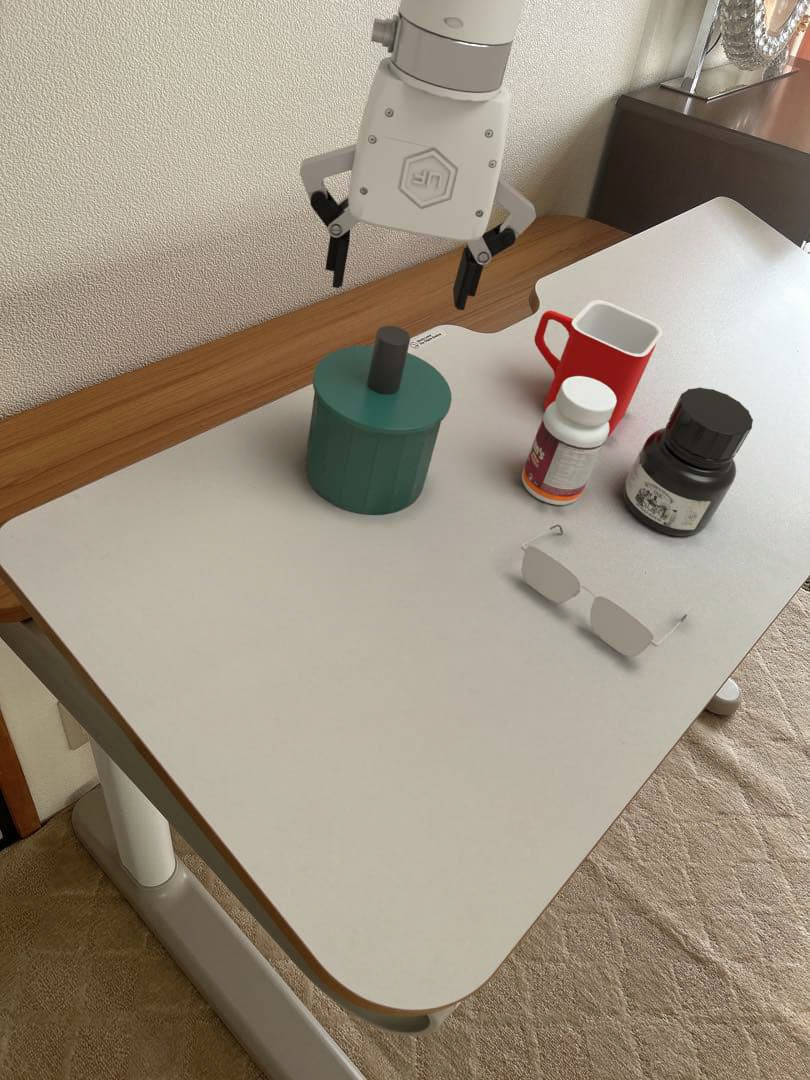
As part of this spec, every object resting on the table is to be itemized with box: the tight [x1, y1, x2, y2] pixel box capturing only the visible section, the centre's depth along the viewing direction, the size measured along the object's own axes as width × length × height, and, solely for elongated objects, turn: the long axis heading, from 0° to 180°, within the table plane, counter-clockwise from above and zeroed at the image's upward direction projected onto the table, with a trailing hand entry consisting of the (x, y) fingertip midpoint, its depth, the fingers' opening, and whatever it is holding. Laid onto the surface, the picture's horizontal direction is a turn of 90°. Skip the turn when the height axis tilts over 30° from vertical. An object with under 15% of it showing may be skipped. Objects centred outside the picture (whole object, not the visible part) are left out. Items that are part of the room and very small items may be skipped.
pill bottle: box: [521, 376, 617, 506], centre depth 83 cm, size 6×6×11 cm
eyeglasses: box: [520, 524, 688, 658], centre depth 76 cm, size 14×8×4 cm, turn 48°
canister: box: [304, 392, 442, 516], centre depth 80 cm, size 11×11×10 cm
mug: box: [534, 299, 664, 438], centre depth 94 cm, size 12×8×11 cm
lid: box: [312, 325, 452, 435], centre depth 75 cm, size 12×12×6 cm
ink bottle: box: [622, 387, 754, 537], centre depth 83 cm, size 10×9×12 cm
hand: (398, 290), depth 69 cm, fingers open, 9 cm apart
